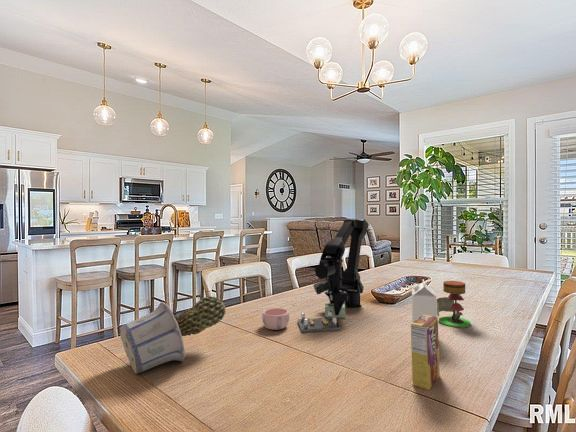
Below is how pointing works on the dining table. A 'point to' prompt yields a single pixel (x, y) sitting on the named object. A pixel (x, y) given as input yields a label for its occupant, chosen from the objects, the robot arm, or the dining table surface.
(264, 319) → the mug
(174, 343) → the potted plant
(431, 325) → the candy box
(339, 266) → the robot arm
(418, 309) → the milk carton
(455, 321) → the brown and green pedestal
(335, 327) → the chassis
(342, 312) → the pale green block
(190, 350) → the dining table surface
